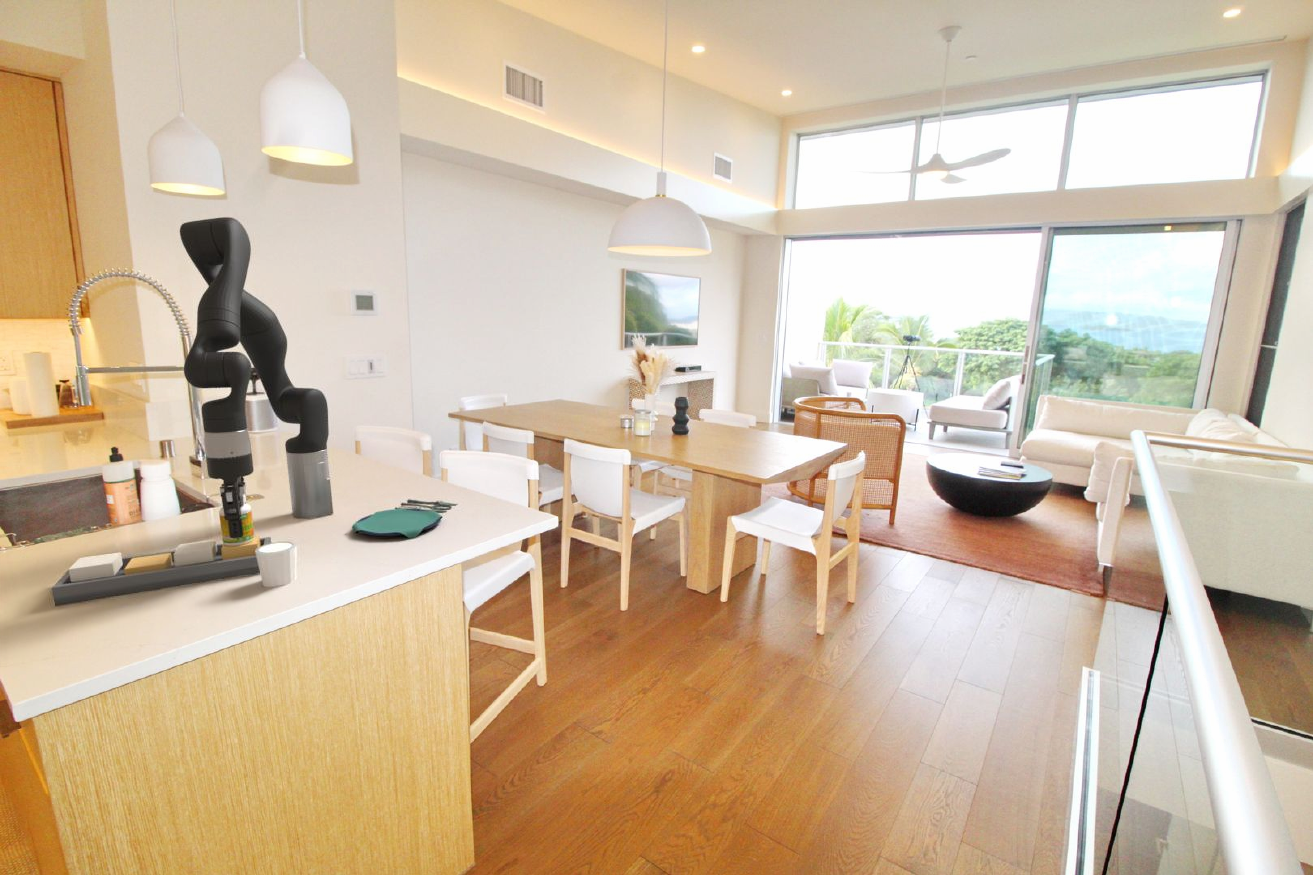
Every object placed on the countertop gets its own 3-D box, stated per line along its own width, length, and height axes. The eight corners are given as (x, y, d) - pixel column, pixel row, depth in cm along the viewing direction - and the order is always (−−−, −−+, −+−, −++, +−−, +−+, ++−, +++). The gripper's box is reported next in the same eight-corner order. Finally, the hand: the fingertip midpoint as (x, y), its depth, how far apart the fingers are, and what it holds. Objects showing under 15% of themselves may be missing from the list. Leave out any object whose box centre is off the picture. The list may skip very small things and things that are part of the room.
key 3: (172, 564, 120) (170, 552, 120) (166, 575, 115) (164, 563, 115) (134, 570, 117) (132, 558, 117) (126, 581, 112) (124, 569, 112)
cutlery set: (336, 539, 140) (335, 529, 140) (403, 503, 169) (402, 495, 169) (417, 544, 138) (416, 534, 138) (470, 507, 167) (470, 499, 167)
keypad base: (272, 551, 131) (270, 536, 131) (269, 571, 121) (267, 555, 121) (77, 581, 116) (74, 564, 115) (54, 606, 106) (51, 587, 105)
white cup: (270, 573, 120) (267, 541, 119) (306, 573, 121) (303, 540, 119) (251, 588, 113) (246, 554, 112) (289, 587, 114) (285, 553, 113)
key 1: (260, 545, 127) (259, 534, 127) (258, 555, 122) (257, 543, 122) (226, 550, 125) (224, 539, 124) (222, 560, 119) (221, 548, 119)
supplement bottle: (238, 547, 120) (232, 501, 118) (216, 545, 121) (210, 499, 119) (261, 538, 125) (256, 493, 123) (239, 536, 126) (234, 491, 124)
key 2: (217, 550, 124) (215, 539, 123) (213, 560, 119) (211, 549, 118) (180, 556, 121) (179, 544, 120) (175, 566, 116) (173, 554, 115)
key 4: (122, 564, 116) (120, 552, 116) (114, 575, 111) (112, 563, 111) (81, 570, 113) (79, 557, 113) (71, 582, 108) (68, 569, 108)
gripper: (248, 457, 115) (257, 540, 118) (254, 444, 127) (262, 520, 131) (199, 461, 112) (210, 547, 115) (210, 447, 124) (220, 525, 127)
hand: (238, 532), depth 123 cm, fingers closed on supplement bottle, 5 cm apart
